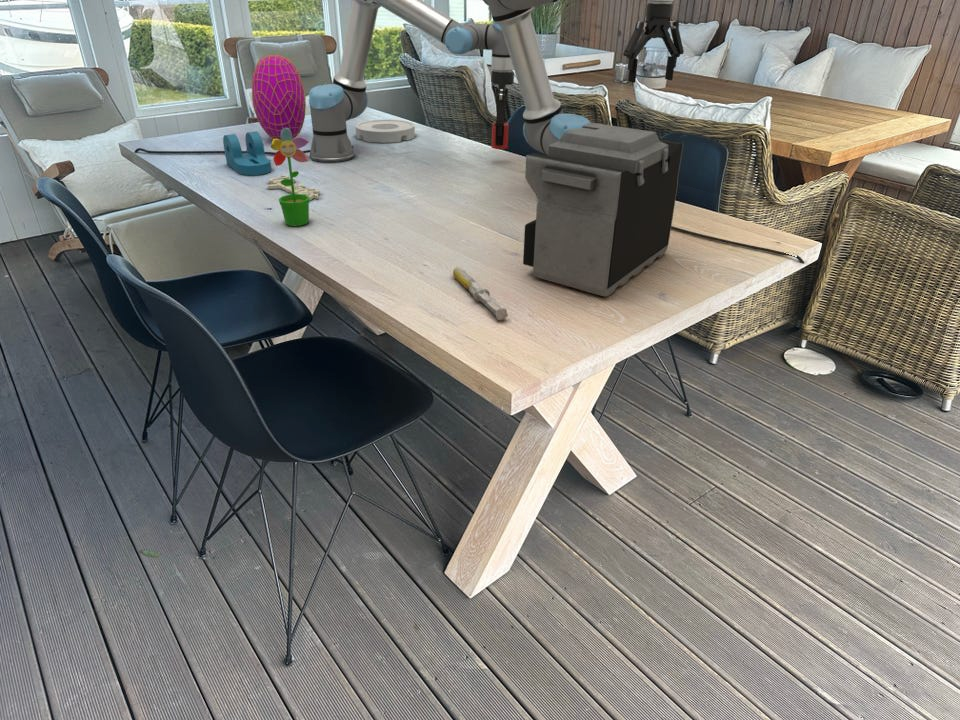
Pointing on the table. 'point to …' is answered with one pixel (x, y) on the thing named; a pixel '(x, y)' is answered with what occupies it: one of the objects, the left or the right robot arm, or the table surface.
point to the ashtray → (385, 130)
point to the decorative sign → (297, 188)
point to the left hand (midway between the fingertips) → (499, 142)
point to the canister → (505, 142)
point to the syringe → (479, 293)
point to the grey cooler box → (601, 206)
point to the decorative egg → (278, 96)
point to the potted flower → (291, 178)
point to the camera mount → (246, 154)
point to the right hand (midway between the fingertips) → (650, 80)
